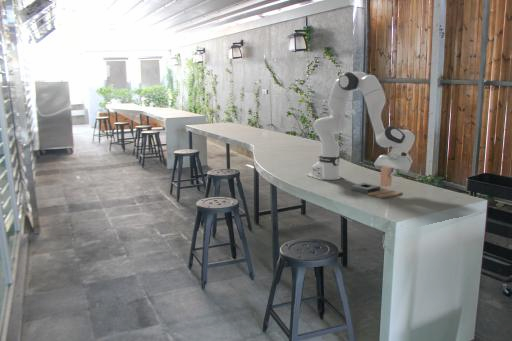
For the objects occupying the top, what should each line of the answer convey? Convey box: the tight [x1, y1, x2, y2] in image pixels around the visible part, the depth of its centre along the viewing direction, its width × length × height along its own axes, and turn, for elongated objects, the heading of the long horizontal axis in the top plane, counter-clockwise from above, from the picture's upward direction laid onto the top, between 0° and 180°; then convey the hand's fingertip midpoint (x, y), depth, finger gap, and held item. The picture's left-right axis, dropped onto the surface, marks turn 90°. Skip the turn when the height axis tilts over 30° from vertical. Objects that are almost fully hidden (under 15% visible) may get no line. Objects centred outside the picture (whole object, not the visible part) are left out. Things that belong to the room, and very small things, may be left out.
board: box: [367, 188, 403, 200], centre depth 252 cm, size 11×16×1 cm
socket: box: [350, 182, 381, 195], centre depth 261 cm, size 11×11×2 cm
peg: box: [380, 167, 393, 187], centre depth 250 cm, size 4×4×10 cm
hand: (385, 175), depth 249 cm, fingers closed on peg, 4 cm apart
